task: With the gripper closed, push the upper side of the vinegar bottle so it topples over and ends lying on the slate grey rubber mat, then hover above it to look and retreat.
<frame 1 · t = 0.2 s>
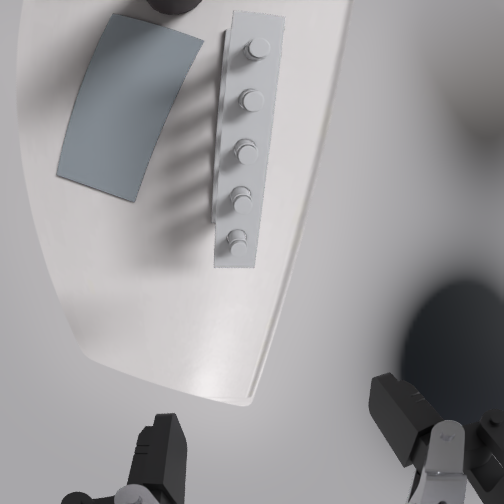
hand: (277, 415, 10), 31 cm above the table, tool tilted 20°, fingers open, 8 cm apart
test tube rack: (234, 128, 34), on the table
slate mat: (120, 107, 30), on the table
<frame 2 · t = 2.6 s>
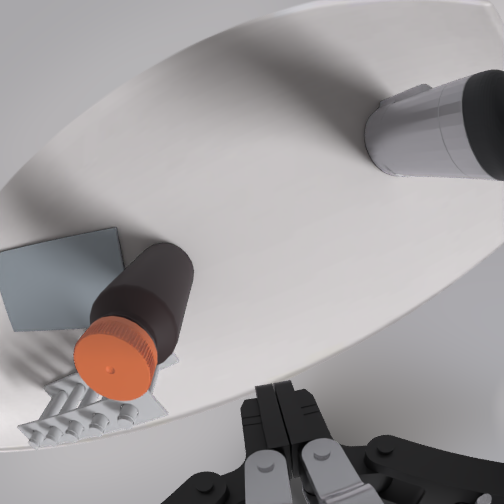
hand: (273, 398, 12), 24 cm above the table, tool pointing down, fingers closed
test tube rack: (102, 375, 37), on the table
slate mat: (54, 286, 33), on the table
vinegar: (165, 270, 34), on the table
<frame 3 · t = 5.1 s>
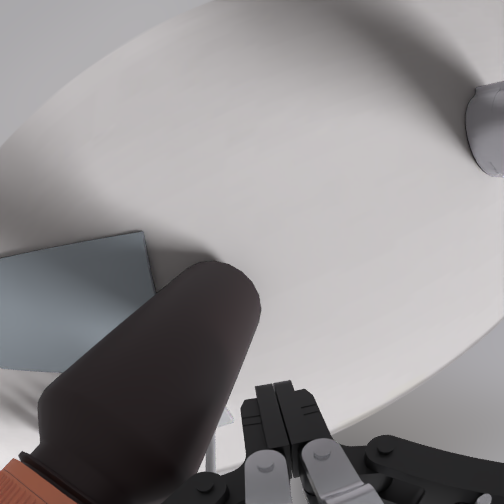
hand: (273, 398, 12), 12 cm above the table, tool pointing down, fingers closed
test tube rack: (121, 428, 26), on the table
slate mat: (50, 315, 22), on the table
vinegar: (218, 301, 22), point 1 cm above the table
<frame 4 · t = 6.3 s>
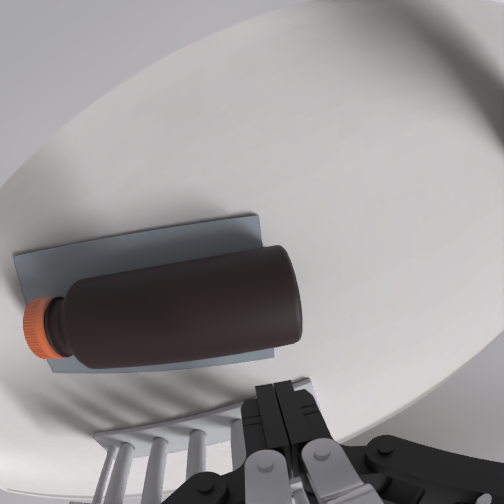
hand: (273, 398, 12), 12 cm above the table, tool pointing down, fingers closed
test tube rack: (198, 427, 27), on the table
slate mat: (132, 308, 23), on the table
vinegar: (293, 292, 20), point 3 cm above the table, touching slate mat
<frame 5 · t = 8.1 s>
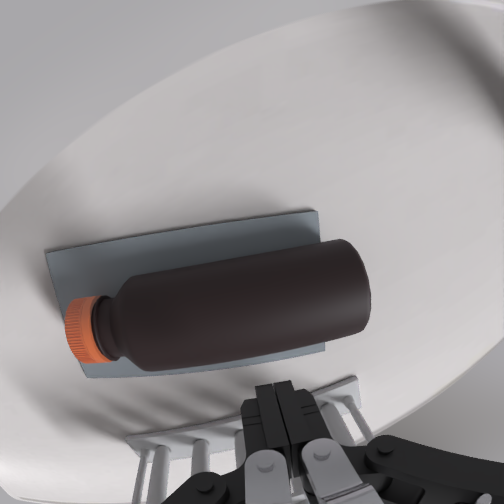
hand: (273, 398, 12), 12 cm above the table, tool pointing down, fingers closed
test tube rack: (241, 427, 27), on the table
slate mat: (183, 306, 23), on the table
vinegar: (354, 285, 20), point 3 cm above the table, touching slate mat
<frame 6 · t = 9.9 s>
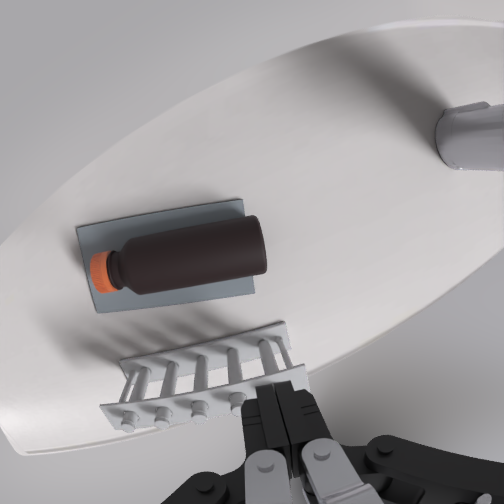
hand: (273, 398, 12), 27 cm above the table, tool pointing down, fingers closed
test tube rack: (202, 355, 41), on the table
slate mat: (162, 259, 37), on the table
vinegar: (263, 243, 34), point 3 cm above the table, touching slate mat
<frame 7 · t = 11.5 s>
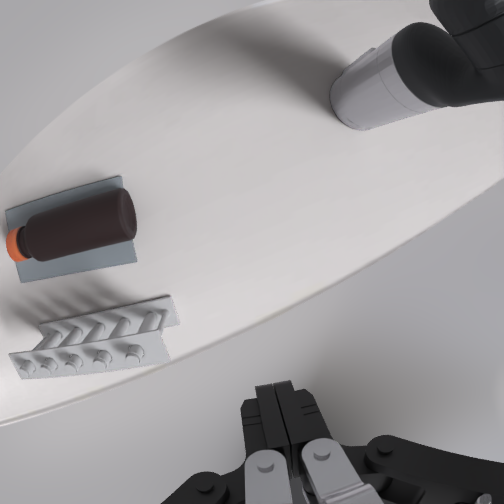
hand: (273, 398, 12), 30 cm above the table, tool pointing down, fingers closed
test tube rack: (102, 324, 41), on the table
slate mat: (63, 233, 37), on the table
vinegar: (130, 212, 35), point 3 cm above the table, touching slate mat
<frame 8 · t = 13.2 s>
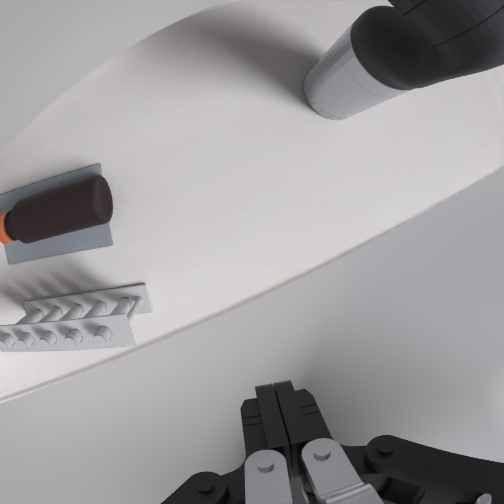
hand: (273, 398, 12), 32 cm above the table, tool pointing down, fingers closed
test tube rack: (81, 305, 42), on the table
slate mat: (47, 218, 38), on the table
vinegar: (105, 198, 36), point 3 cm above the table, touching slate mat
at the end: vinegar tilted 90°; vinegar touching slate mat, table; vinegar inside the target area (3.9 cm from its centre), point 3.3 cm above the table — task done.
